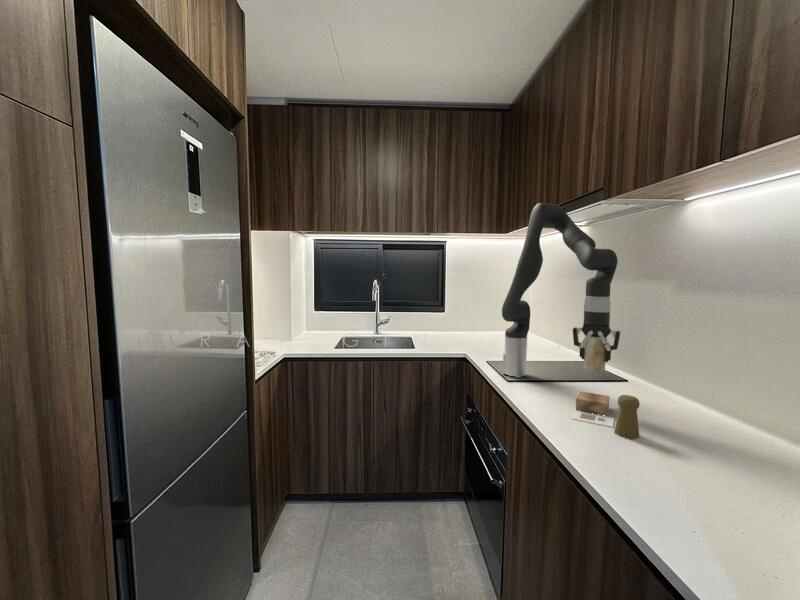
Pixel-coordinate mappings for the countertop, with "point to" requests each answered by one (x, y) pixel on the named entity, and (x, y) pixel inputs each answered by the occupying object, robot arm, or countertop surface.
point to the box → (594, 354)
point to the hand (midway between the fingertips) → (594, 360)
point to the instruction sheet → (593, 418)
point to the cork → (627, 417)
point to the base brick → (592, 403)
